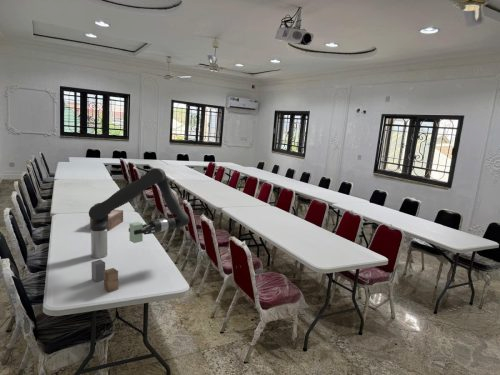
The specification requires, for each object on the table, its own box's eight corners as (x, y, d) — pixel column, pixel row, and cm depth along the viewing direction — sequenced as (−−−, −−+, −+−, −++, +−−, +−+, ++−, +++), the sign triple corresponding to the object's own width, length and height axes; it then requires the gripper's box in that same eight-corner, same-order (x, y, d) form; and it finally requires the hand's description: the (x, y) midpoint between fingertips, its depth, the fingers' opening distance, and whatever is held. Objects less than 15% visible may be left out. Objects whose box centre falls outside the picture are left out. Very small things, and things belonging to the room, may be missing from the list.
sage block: (129, 240, 189) (129, 223, 187) (137, 238, 192) (137, 221, 191) (134, 243, 186) (134, 225, 184) (142, 241, 189) (142, 223, 187)
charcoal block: (91, 279, 184) (91, 261, 182) (100, 276, 187) (100, 259, 185) (96, 282, 180) (95, 264, 178) (105, 279, 184) (105, 262, 182)
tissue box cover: (108, 231, 260) (108, 218, 259) (90, 229, 261) (90, 217, 259) (123, 221, 286) (123, 210, 284) (106, 220, 286) (106, 208, 285)
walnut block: (104, 288, 175) (103, 270, 173) (113, 285, 178) (113, 267, 176) (108, 292, 171) (108, 273, 169) (118, 289, 175) (118, 271, 173)
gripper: (151, 216, 202) (124, 221, 190) (165, 222, 193) (138, 228, 181) (151, 228, 204) (124, 234, 191) (165, 235, 195) (138, 241, 182)
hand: (131, 231), depth 186 cm, fingers closed on sage block, 5 cm apart
